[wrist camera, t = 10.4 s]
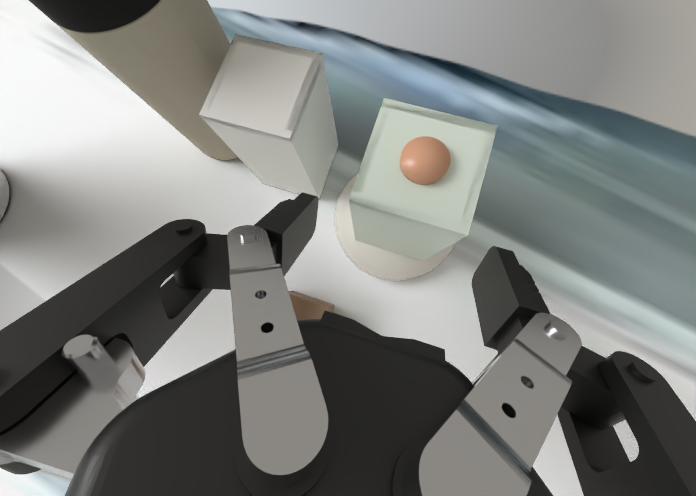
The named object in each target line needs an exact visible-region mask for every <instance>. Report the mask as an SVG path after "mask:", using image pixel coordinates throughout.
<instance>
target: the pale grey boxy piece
mask: <svg viewBox="0 0 696 496" xmlns="http://www.w3.org/2000/svg"><path fill="white" fill-rule="evenodd" d="M496 130H497V126H496V125H492V124H488V123H484V122H480V121H476V120H472V119H468V118H464V117H460V116H455V115H451V114H447V113H443V112H439V111H435V110H431V109H427V108H423V107H419V106H415V105H411V104H407V103H402V102H398V101H394V100H390V99H386V98H384V100H383V102H382V105H381V108H380V111H379V114H378V117H377V120H376V123H375V125H374V128H373V131H372V134H371V137H370V140H369V143H368V146H367V149H366V151H365V154H364V157H363V160H362V163H361V166H360V169H359V172H358V175H357V177H356V180H355V183H354V186H353V189H352V192H351V195H350V198H349V205H350V211H351V217H352V223H353V230H354V236H355V240H356V241H359V242H362V243H365V244H368V245H372V246H375V247H378V248H381V249H384V250H388V251H391V252H394V253H397V254H400V255H403V256H407V257H410V258H413V259H416V260H419V261H423V260H425V259H427V258H428V257H430V256H432V255H434V254H436V253H438V252H439V251H441V250H443V249H445V248H447V247H448V246H450V245H452V244H454V243H456V242H458V241H459V240H461V239H463V238H465V237H467V236H468V235H469V231H470V227H471V224H472V220H473V216H474V212H475V209H476V205H477V201H478V197H479V194H480V190H481V186H482V182H483V179H484V175H485V171H486V167H487V164H488V160H489V156H490V152H491V148H492V145H493V141H494V137H495V133H496Z"/></svg>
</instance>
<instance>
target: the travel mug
mask: <svg viewBox="0 0 696 496" xmlns="http://www.w3.org/2000/svg"><path fill="white" fill-rule="evenodd" d="M29 1H30V2H32V3H33V4H34V5H35V6H36V7H37V8H38V9H40V10H41V11H42V12H43V13H44V14H45V15H46V16H48V17H49V18H50V19H51V20H52V21H53V22H54V23H56V24H57V25H58V26H59V27H60V28H61V29H62V30H64V31H65V32H66V33H67V34H68V35H69V36H70V37H72V38H73V39H74V40H75V41H76V42H77V43H78V44H80V45H81V46H82V47H83V48H84V49H85V50H86V51H88V52H89V53H90V54H91V55H92V56H93V57H94V58H96V59H97V60H98V61H99V62H100V63H101V64H102V65H104V66H105V67H106V68H107V69H108V70H109V71H110V72H112V73H113V74H114V75H115V76H116V77H117V78H119V79H120V80H121V81H122V82H123V83H124V84H125V85H127V86H128V87H129V88H130V89H131V90H132V91H133V92H135V93H136V94H137V95H138V96H139V97H140V98H141V99H143V100H144V101H145V102H146V103H147V104H148V105H149V106H151V107H152V108H153V109H154V110H155V111H156V112H157V113H159V114H160V115H161V116H162V117H163V118H164V119H165V120H167V121H168V122H169V123H170V124H171V125H172V126H173V127H175V128H176V129H177V130H178V131H179V132H180V133H181V134H183V135H184V136H185V137H186V138H187V139H188V140H189V141H191V142H192V143H193V144H194V145H195V146H196V147H197V148H199V149H200V150H201V151H202V152H203V153H205V154H206V155H208V156H209V157H212V158H215V159H219V160H231V159H236V158H239V157H238V156H237V155H236V154H235V153H234V152H233V151H232V150H231V149H230V148H229V147H228V146H227V144H226V143H225V142H224V141H223V140H222V139H221V138H220V137H219V136H218V135H217V134H216V133H215V132H214V130H213V129H212V128H211V127H210V126H209V125H208V124H207V123H206V122H205V121H204V120H203V119H202V117H201V116H200V115H199V113H200V111H201V109H202V107H203V105H204V102H205V100H206V98H207V96H208V93H209V91H210V89H211V87H212V85H213V82H214V80H215V78H216V76H217V73H218V71H219V69H220V67H221V65H222V62H223V60H224V58H225V56H226V54H227V51H228V49H229V47H230V45H231V44H230V42H229V40H228V39H227V37H226V35H225V33H224V31H223V29H222V27H221V26H220V24H219V22H218V20H217V18H216V16H215V14H214V13H213V11H212V9H211V7H210V5H209V3H208V1H207V0H29Z"/></svg>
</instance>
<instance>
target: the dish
mask: <svg viewBox="0 0 696 496" xmlns="http://www.w3.org/2000/svg"><path fill="white" fill-rule="evenodd" d="M357 175H358V174H356V175H355V176H354V177H353V178H352V179H351V180H350V181H349V182H348V183H347V184H346V186H345V187H344V189H343V190H342V192H341V194H340V196H339V199H338V201H337V205H336V209H335V230H336V234H337V238H338V240H339V243H340V245H341V247H342V249H343V251H344V252H345V254H346V255H347V257H348V258H349V259H350V260H351V262H353V263H354V264H355V265H356V266H357V267H358V268H360V269H361V270H362V271H364V272H366V273H367V274H369V275H372V276H374V277H377V278H380V279H384V280H393V281H398V280H408V279H412V278H415V277H419V276H421V275H424V274H426V273H428V272H430V271H431V270H433V269H435V268H436V267H437V266H438V265H439V264H441V263H442V262H443V261H444V260H445V258H446V257H447V256H448V255H449V253H450V252H451V250H452V248H453V246H454V244H455V243H454V244H452V245H450V246H448V247H447V248H445V249H443V250H441V251H439V252H438V253H436V254H434V255H432V256H430V257H428V258H427V259H425V260H423V261H419V260H416V259H413V258H410V257H407V256H403V255H400V254H397V253H394V252H391V251H388V250H384V249H381V248H378V247H375V246H372V245H368V244H365V243H362V242H359V241H356V240H355V236H354V230H353V223H352V217H351V211H350V205H349V198H350V195H351V192H352V189H353V186H354V183H355V180H356V177H357Z"/></svg>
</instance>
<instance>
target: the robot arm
mask: <svg viewBox="0 0 696 496" xmlns="http://www.w3.org/2000/svg"><path fill="white" fill-rule="evenodd" d="M8 201H9V185H8V181H7V179H6V177H5V175H4V174H3V173H2V171H1V170H0V220H1V218H2V217H3V215H4V213H5V210H6V208H7V205H8ZM317 210H318V196H314V195H311V194H307V193H304V192H302V193H301V194H300V195H299V196H298V197H297V198H295V199H294V200H291V199H288V200H286V201H283V202H280V203H279V204H278V205H277V206H276V207H274V209H272V210H271V211H270V212H269V213H268V214H266V215H265V216H264V217H263V218H262V219H261V220H260V221H259V222H257V223H256V224H255V225H254V226H252V225H245V226H239V227H236V228H234V229H232V230H231V231H230V232H229V233H228V235H219V234H207V233H206V229H205V225H204V224H203V223H201V222H199V221H197V220H191V219H182V220H176V221H172V222H169V223H167V224H165V225H164V226H162V227H161V228H159V229H158V230H156V231H154V232H153V233H151V234H150V235H148V236H147V237H145V238H144V239H142V240H140V241H139V242H137V243H136V244H134V245H133V246H131V247H130V248H128V249H126V250H125V251H123V252H122V253H120V254H119V255H117V256H116V257H114V258H112V259H111V260H109V261H108V262H106V263H105V264H103V265H102V266H100V267H98V268H97V269H95V270H94V271H92V272H91V273H89V274H88V275H86V276H85V277H83V278H81V279H80V280H78V281H77V282H75V283H74V284H72V285H71V286H69V287H67V288H66V289H64V290H63V291H61V292H60V293H58V294H57V295H55V296H53V297H52V298H50V299H49V300H47V301H46V302H44V303H43V304H41V305H39V306H38V307H37V308H35V309H33V310H32V311H30V312H29V313H27V314H25V315H24V316H22V317H21V318H19V319H18V320H16V321H15V322H13V323H11V324H10V325H8V326H7V327H5V328H4V329H2V330H1V331H0V468H2V469H4V470H6V471H9V472H11V473H14V474H28V473H32V472H36V471H38V470H41V469H43V470H46V471H49V472H52V473H55V474H59V475H62V476H65V477H68V478H71V479H72V480H71V482H70V485H69V487H68V490H67V492H66V494H65V496H553V495H552V493H551V492H550V491H549V489H548V488H547V486H546V485H545V484H544V482H543V481H542V480H541V478H540V477H539V475H538V474H537V473H536V471H535V470H534V468H533V467H532V465H533V463H534V461H535V459H536V457H537V455H538V453H539V451H540V449H541V447H542V445H543V443H544V441H545V438H546V436H547V434H548V432H549V430H550V428H551V426H552V424H553V422H554V420H555V418H556V416H557V414H558V417H559V420H560V423H561V427H562V430H563V433H564V436H565V439H566V442H567V445H568V448H569V451H570V454H571V457H572V460H573V463H574V466H575V469H576V473H577V476H578V479H579V482H580V485H581V488H582V491H583V494H584V496H696V421H695V420H694V419H693V417H692V416H691V414H690V413H689V412H688V410H687V409H686V407H685V406H684V405H683V403H682V402H681V400H680V399H679V398H678V396H677V395H676V394H675V392H674V391H673V389H672V388H671V387H670V385H669V384H668V382H667V381H666V380H665V379H664V378H663V377H662V375H661V374H660V373H658V372H657V371H656V370H655V369H654V368H653V367H651V366H650V365H649V364H647V363H646V362H644V361H643V360H641V359H639V358H638V357H636V356H634V355H632V354H629V353H626V352H622V351H617V352H614V353H613V354H611V355H610V356H608V357H607V358H604V357H602V356H601V355H599V354H597V353H595V352H593V351H591V350H589V349H587V348H585V347H583V346H581V345H582V342H581V339H580V337H579V335H578V334H577V333H576V332H575V330H574V329H573V328H572V327H571V326H569V325H568V324H567V323H566V322H564V321H563V320H561V319H559V318H557V317H556V316H553V315H551V314H550V312H549V310H548V308H547V306H546V304H545V302H544V300H543V298H542V296H541V294H540V293H538V292H539V290H538V288H537V286H536V285H535V282H534V280H533V279H532V277H531V275H530V274H529V273H528V272H527V271H526V270H525V269H524V268H523V266H521V265H519V263H518V261H517V259H516V256H515V254H514V252H513V251H510V250H506V249H503V248H499V247H495V246H493V247H492V248H490V250H489V251H488V253H487V254H486V256H485V257H484V259H483V261H482V262H481V264H480V265H479V267H478V268H477V270H476V272H475V273H474V276H473V279H472V288H473V293H474V298H475V303H476V307H477V312H478V317H479V322H480V327H481V332H482V336H483V341H484V346H487V347H490V348H493V349H496V350H498V354H497V355H496V356H495V357H494V359H493V360H492V361H491V362H490V363H489V364H488V365H487V366H486V368H485V369H484V370H483V371H482V372H481V373H480V374H479V376H478V377H477V378H476V379H475V380H474V381H473V382H472V383H471V381H470V380H469V379H468V378H467V377H466V376H465V375H464V374H463V373H462V372H461V371H459V370H458V369H457V368H456V367H454V366H453V365H451V364H450V363H449V362H447V361H445V349H442V348H439V347H436V346H432V345H429V344H426V343H423V342H420V341H417V340H414V339H404V338H394V337H384V336H381V335H379V334H377V333H375V332H374V331H372V330H370V329H368V328H367V327H365V326H363V325H362V324H360V323H358V322H356V321H355V320H353V319H350V318H347V317H344V316H341V315H338V314H335V313H331V312H328V311H324V313H323V315H322V318H321V319H317V318H313V319H302V320H297V319H296V316H295V312H294V309H293V306H292V302H291V299H290V296H289V292H288V289H287V286H286V282H285V279H284V276H285V274H286V273H287V272H288V270H289V269H290V267H291V266H292V265H293V263H294V262H295V260H296V259H297V257H298V256H299V255H300V253H301V252H302V250H303V249H304V247H305V246H306V245H307V243H308V242H309V240H310V239H311V237H312V236H313V233H314V231H315V227H316V219H317ZM171 274H174V276H173V277H172V278H171V279H170V280H169V281H167V282H166V283H165V284H164V285H163V286H162V287H161V288H160V286H161V284H162V283H163V282H164V281H165V280H166V279H167V278H168V277H169V276H170V275H171ZM212 289H225V290H231V297H232V309H233V321H234V333H235V345H236V350H234V351H232V352H230V353H228V354H226V355H224V356H222V357H220V358H218V359H216V360H214V361H212V362H210V363H208V364H206V365H204V366H202V367H200V368H198V369H196V370H194V371H192V372H190V373H188V374H186V375H184V376H182V377H180V378H178V379H176V380H174V381H172V382H170V383H168V384H166V385H164V386H162V387H160V388H158V389H156V390H154V391H152V392H150V393H148V394H146V395H144V396H142V397H141V398H139V399H137V400H136V401H134V400H135V398H136V394H137V393H138V391H139V390H140V388H141V387H142V385H143V383H144V380H145V370H144V366H145V365H146V364H147V363H148V362H149V360H150V359H151V358H152V357H153V356H154V355H155V354H156V353H157V351H158V350H159V349H160V348H161V347H162V346H163V345H164V344H165V342H166V341H167V340H168V339H169V338H170V337H171V336H172V334H173V333H174V332H175V331H176V330H177V329H178V328H179V327H180V325H181V324H182V323H183V322H184V321H185V320H186V319H187V318H188V316H189V315H190V314H191V313H192V312H193V311H194V310H195V309H196V307H197V306H198V305H199V304H200V303H201V302H202V301H203V299H204V298H205V297H206V296H207V295H208V294H209V293H210V292H211V290H212ZM133 401H134V402H133ZM625 419H626V421H627V423H628V425H629V426H630V428H631V430H632V432H633V434H634V436H635V438H636V440H637V442H638V445H639V454H638V457H637V458H636V459H635V460H634V461H632V462H630V461H629V459H628V457H627V455H626V453H625V451H624V448H623V446H622V444H621V442H620V440H619V438H618V436H617V434H616V432H615V429H614V427H613V425H615V424H617V423H619V422H621V421H623V420H625Z"/></svg>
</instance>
